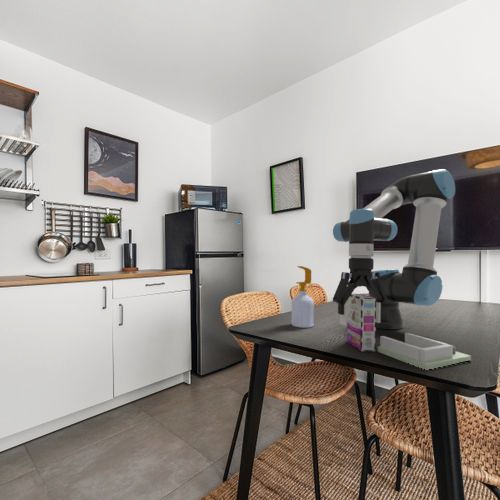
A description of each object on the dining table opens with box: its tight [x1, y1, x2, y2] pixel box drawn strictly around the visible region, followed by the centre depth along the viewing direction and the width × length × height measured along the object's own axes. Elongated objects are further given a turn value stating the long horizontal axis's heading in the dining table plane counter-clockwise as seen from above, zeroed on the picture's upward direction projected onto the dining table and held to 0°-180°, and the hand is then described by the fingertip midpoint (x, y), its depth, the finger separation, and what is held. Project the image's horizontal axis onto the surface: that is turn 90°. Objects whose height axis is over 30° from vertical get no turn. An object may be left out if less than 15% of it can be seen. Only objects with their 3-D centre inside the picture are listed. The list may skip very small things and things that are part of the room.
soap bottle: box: [291, 265, 315, 329], centre depth 125 cm, size 9×9×25 cm
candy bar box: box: [346, 293, 377, 353], centre depth 97 cm, size 11×5×16 cm, turn 5°
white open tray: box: [377, 332, 472, 371], centre depth 88 cm, size 18×16×4 cm
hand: (360, 323), depth 97 cm, fingers open, 13 cm apart
